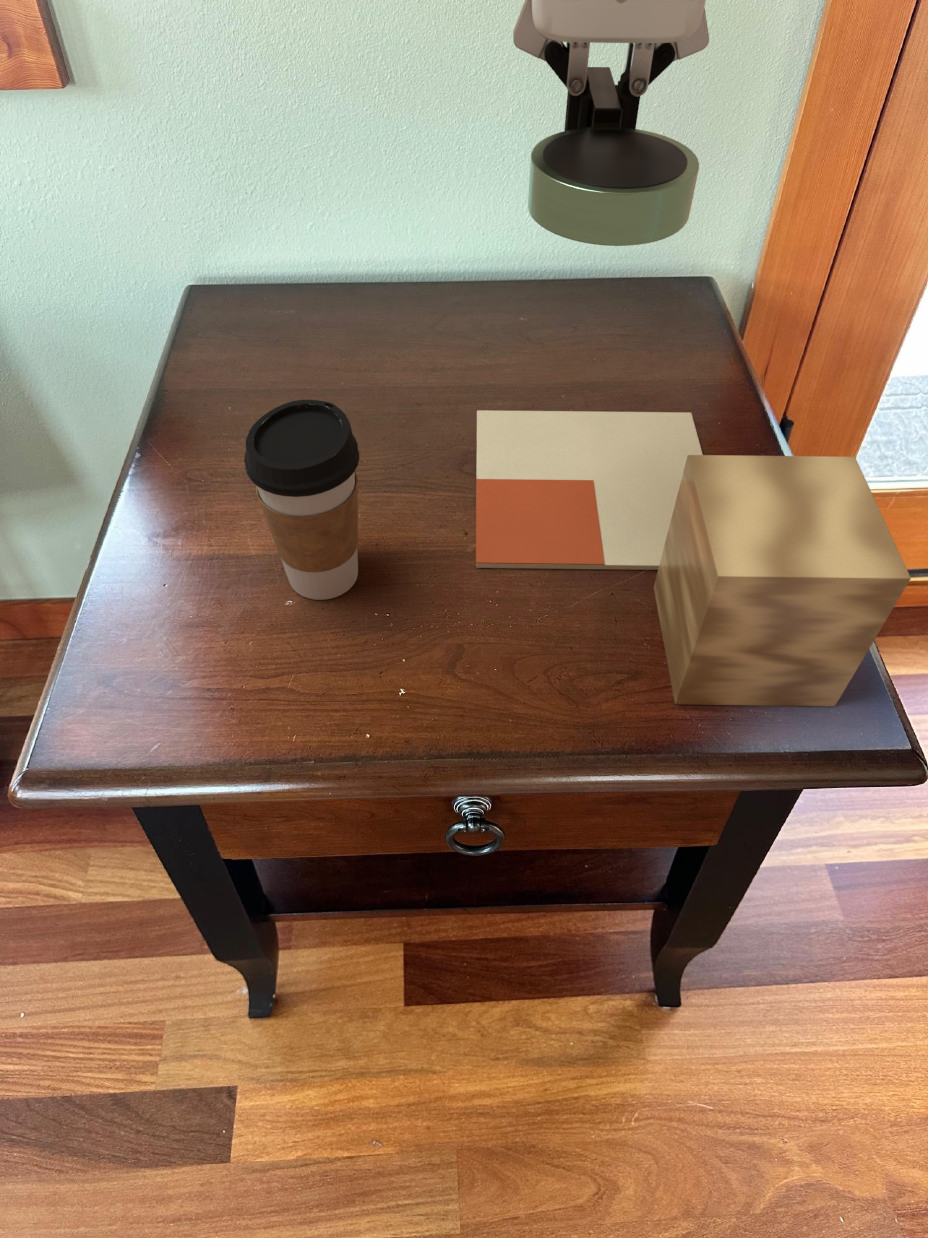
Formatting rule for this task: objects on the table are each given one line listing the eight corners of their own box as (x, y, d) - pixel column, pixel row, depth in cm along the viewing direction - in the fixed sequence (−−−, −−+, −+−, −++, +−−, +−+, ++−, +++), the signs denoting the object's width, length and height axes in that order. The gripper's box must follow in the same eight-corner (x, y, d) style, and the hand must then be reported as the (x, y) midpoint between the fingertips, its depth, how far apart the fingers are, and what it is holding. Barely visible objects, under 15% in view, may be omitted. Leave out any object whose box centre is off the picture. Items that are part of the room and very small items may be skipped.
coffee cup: (392, 563, 72) (379, 419, 61) (331, 626, 67) (305, 483, 56) (316, 527, 75) (290, 383, 64) (253, 585, 70) (212, 441, 59)
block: (795, 588, 70) (855, 456, 60) (835, 706, 62) (911, 578, 52) (653, 587, 70) (687, 454, 60) (674, 704, 63) (718, 576, 52)
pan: (521, 129, 61) (524, 65, 58) (659, 130, 61) (669, 66, 57) (530, 245, 49) (535, 173, 46) (701, 247, 49) (717, 175, 46)
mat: (690, 417, 86) (691, 411, 85) (731, 571, 72) (733, 565, 71) (476, 414, 86) (476, 409, 86) (475, 568, 72) (475, 562, 71)
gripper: (488, -220, 41) (481, 176, 55) (812, -218, 41) (722, 178, 55) (487, -235, 46) (481, 132, 60) (777, -233, 46) (702, 135, 60)
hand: (596, 152), depth 57 cm, fingers closed on pan, 2 cm apart
